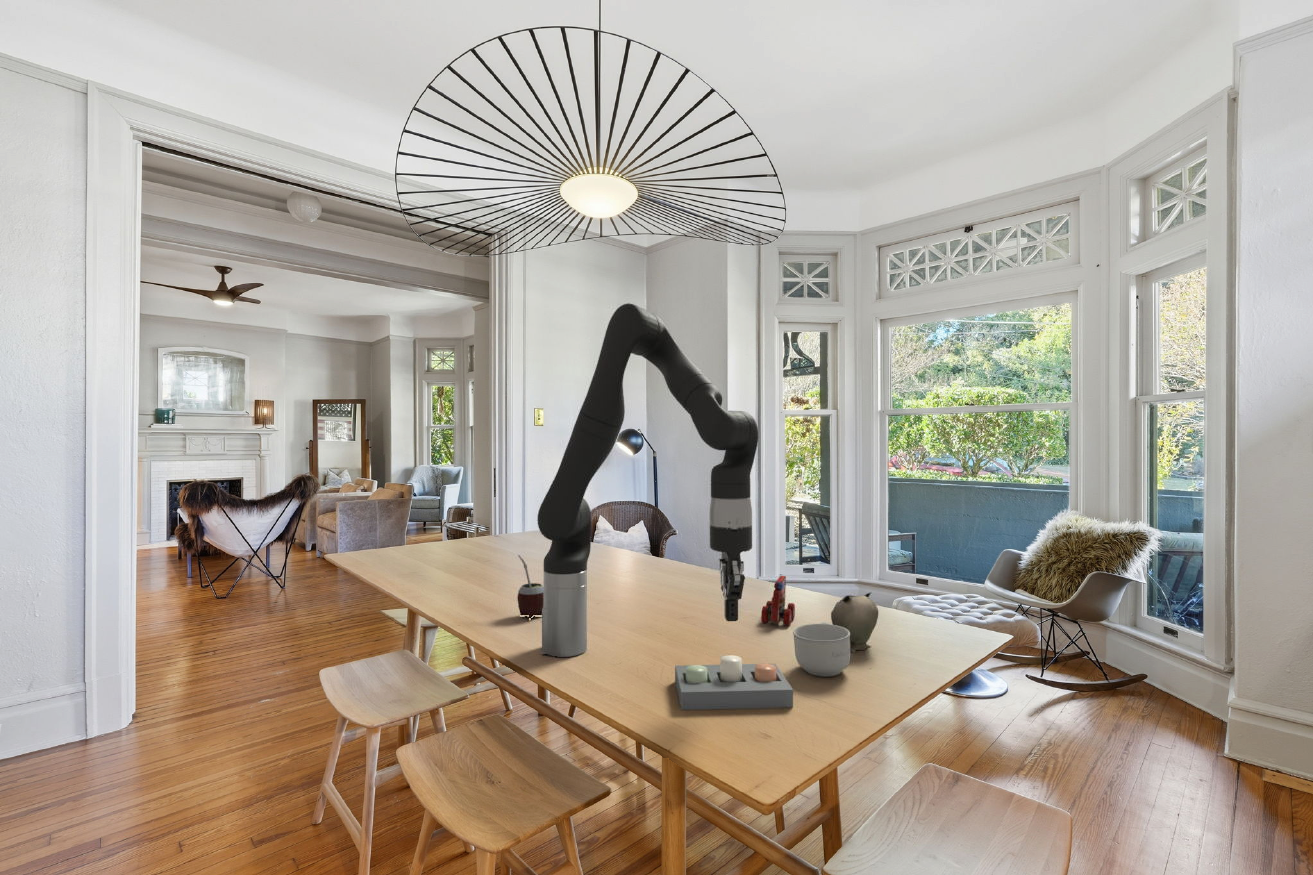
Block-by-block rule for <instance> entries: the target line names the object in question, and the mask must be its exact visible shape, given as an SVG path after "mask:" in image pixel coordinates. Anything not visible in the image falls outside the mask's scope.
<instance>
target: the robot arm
mask: <svg viewBox="0 0 1313 875" xmlns="http://www.w3.org/2000/svg"><path fill="white" fill-rule="evenodd" d="M631 354H633V355H635V356H640V357H643V358H644V359H645V360H647V361H649V362H650V363H651V364H652V365H654V366H655V367H656V368H657V369H658V370H659V372H660V373H661V374H662V376H663V378H664V380H665V381H664V382H665V383H666V385H667V389H668V390H669V392H670V393H671V395H672V396H673V397H674V399H675V400H676V401H677V402H678V403H679V405H680V406H681V407H682V408H683V409H684V410H685V411H686V412H687V413H688V414H689V415H690V418H691V421H692V422H693V425H694V427H695V429H696V431H697V434H698V435H699V436H700V438H701V440H702V441H703V442H704V443H705V444H706V445H707V446H709V447H710V448H712V449H714V450H717V451H725V452H724V456H723V460H722V462H720V463H718V464H716V465H715V466H713V467H712V468H711V471H710V503H709V504H710V505H709V548H710V549H711V550H712V551H714V552H719V553H721V558H718V569H719V577H720V578H719V581H720V582H719V583H720V589H721V592H722V596H723V598H724V601H723V602H724V605H723V606H724V609H723V610H724V619H725V620H726V621H727V622H737V621H738V620H739V600H742V597H743V589H744V586H745V581H746V577H745V574H744V573H743V572H744V571H745V562H744V561H742V559H741V554H742V553H743V552H744V553H746V552H749V551H751V550H752V548H753V507H752V500H751V472H752V469H753V465H754V463H755V462H754V461H755V456H756V453H757V448H758V445H759V444H758V443H759V428H758V424H757V422H756V420H755V417H754V416H753V415H751V414H750V413H749V412H748V411H742V410H726V409H724V408H723V407H722V404H723V395H722V393H721V392H720V390H719V389H718V388H717V386H715V385H714V384H713V382H712V381H711V380H709V378H708V377H707V376H706V375H705V374H704V373H703V372H702V371H701V370H700V369H699V368H698V367H697V366H696V365H695V364H694V363H693V362H692V361H691V359H689V358H688V356H687V355H686V354H685V353H684V352H683V350H682V348H680V346H679V345H678V343H677V342H676V341H675V339H674V337H673V336H672V334H671V332H670V330H669V329H668V328H667V326H666V324H665V323H664V322H663V320H662V319H661V318H660V317H659V316H657V315H656V314H655V313H653V312H650V311H649V310H646V309H644V308H642V307H640V306H638V305H635V304H634V303H629V302H628V303H624V304H622V305H620V306H619V307H618V308H617V309H616V310H615V311H614V312H613V314H612V316H611V318H610V319H609V321H608V323H607V328H606V330H605V334H604V338H603V342H602V346H601V349H600V352H599V357H598V359H597V363H596V367H595V370H594V373H593V376H592V379H591V382H590V384H589V387H588V390H587V393H586V396H585V398H584V401H583V402H582V405H581V407H580V409H579V412H578V415H577V418H576V420H575V423H574V426H573V428H572V431H571V435H570V438H569V440H568V443H567V445H566V448H565V450H564V453H563V455H562V456H563V457H562V459H561V462H560V464H559V467H558V468H557V469H558V470H557V472H556V474H555V475H554V479H553V480H552V482H551V484H550V486H549V488H548V491H547V492H546V493H545V496H544V498H543V500H542V501H541V504H540V506H539V508H538V513H537V520H536V521H537V526H538V529H539V532H540V533H541V535H542V536H543V537H544V538H545V539H547V540H549V541H551V544H550V548H549V550H548V551H547V553H546V554H545V556H544V558H543V587H544V607H543V609H542V618H541V655H542V654H549V655H548V656H550V655H551V657H555V656H557V658H566V657H567V658H568V657H575V656H578V655H581V654H583V653H585V652H586V651H587V650H586V649H588V561H589V560H588V559H589V557H590V555H591V548H592V547H591V545H592V543H591V541H592V513H591V508H590V506H589V503H588V502H587V500H586V499H585V498H584V497H585V493H586V491H587V489H588V487H589V484H590V482H591V481H592V479H593V478H594V476H595V475H596V473H597V472H598V470H600V468H601V466H603V464H604V462H605V461H606V459H607V458H608V457H609V455H610V454H611V452H612V450H613V449H614V446H615V444H616V442H617V440H618V437H619V434H620V431H621V429H622V426H623V423H624V420H625V397H624V376H625V371H626V368H627V366H628V362H629V359H630V357H631Z"/></svg>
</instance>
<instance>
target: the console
mask: <svg viewBox="0 0 1313 875" xmlns="http://www.w3.org/2000/svg"><path fill="white" fill-rule="evenodd" d="M757 664H758V663H742V682H720V664H701V665H702V666H705V667H706V668H707V683H686V667H688V666H690V665H691V664H688V665H687V664H686V665H685V664H683V665H682V664H681V665H680V664H679V665H674V671H675V672H674V681H675V687H676V691H677V696H678V701H679V705H680V710H681V711H696V710H697V711H701V710H702V711H703V710H704V711H705V710H741V709H743V710H744V709H775V708H780V709H781V708H793V707H794V689H793V687H792V686H791V685H790V683H789V681H788V680H787V678H786V677H785V675H784V674H783V673H782V671H781V669H780V668H779V666H778V665H777V664H776V663H771V664H772V665H774V666H775V667H776V681H764V682H756V681H755V665H757Z"/></svg>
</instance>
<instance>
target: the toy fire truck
mask: <svg viewBox="0 0 1313 875" xmlns="http://www.w3.org/2000/svg"><path fill="white" fill-rule="evenodd" d="M786 586H787V576H786V575H780V576H779V577H778V578H777V580H776V582H775V583H774V585H773V588H774V590H773V594H772V597H771V600H767V601H766V605H763V606H762V607H761V608H762V609H761V614H760V615H761V617H760V619H761V623H762V624H769V623H770V622H772V623H776V624H777V623H779V622H781V620H782V622H783V625H784V626H786V627H790V626H791V624H792V621H793V620H795V615H796V605H795V603H794V602H789V603H787V607H786V597H787V596H786Z"/></svg>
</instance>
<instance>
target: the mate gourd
mask: <svg viewBox="0 0 1313 875" xmlns="http://www.w3.org/2000/svg"><path fill="white" fill-rule="evenodd" d="M518 558H519V559H520V561H521V562H522V564H523V568H524V571H525V576H526V579H527V583H525V584H522V585H521V586H520V587H519V589H518V592H517V604H518V610H519V613H520V614H519V615H529V618H531V617H532V616H533V615H542V609H543V607H544V585H542V584H541V583H537V582H534V583H532V582H531V580H530V576H529V571H528V564H527V563H526V561H525V560H524V559H523V557H522V556H521V555H520V554H518Z"/></svg>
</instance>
